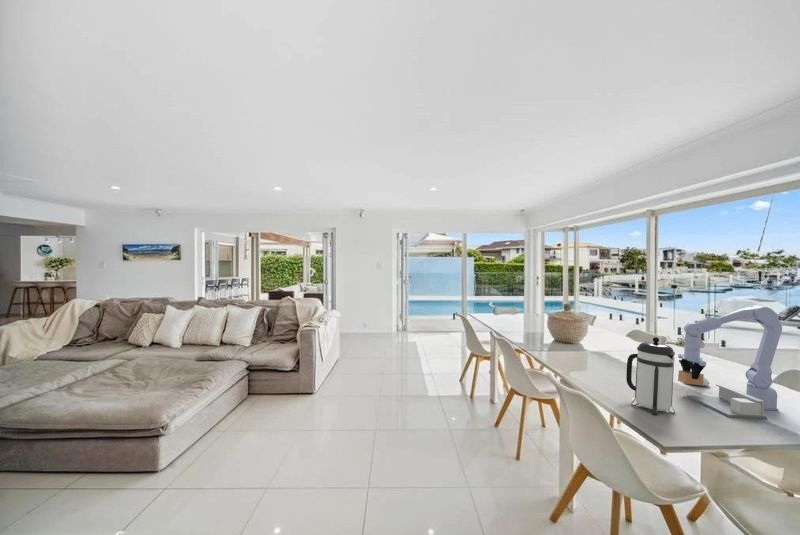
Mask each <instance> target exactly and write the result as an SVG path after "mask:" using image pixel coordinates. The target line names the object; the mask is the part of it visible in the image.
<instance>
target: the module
mask: <svg viewBox="0 0 800 535" xmlns="http://www.w3.org/2000/svg"><path fill="white" fill-rule="evenodd" d="M703 376H704V373H702V372H701V373H700V375H699V377H698V379H692V371H684V370H683V369H681V370H679V369H678V378H677V381H678V382H680V383H682V384H685V385H694V384H696V385H695V386H702V385H703ZM704 377H705V376H704Z"/></svg>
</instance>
